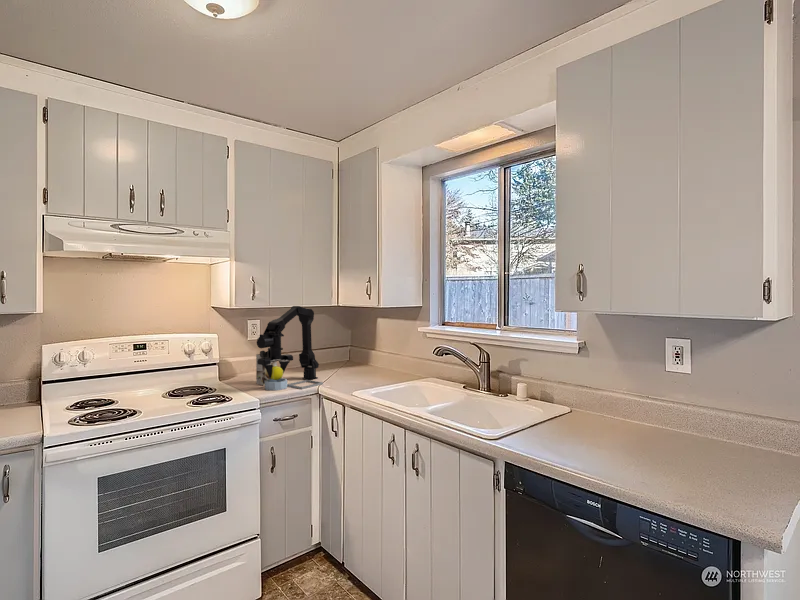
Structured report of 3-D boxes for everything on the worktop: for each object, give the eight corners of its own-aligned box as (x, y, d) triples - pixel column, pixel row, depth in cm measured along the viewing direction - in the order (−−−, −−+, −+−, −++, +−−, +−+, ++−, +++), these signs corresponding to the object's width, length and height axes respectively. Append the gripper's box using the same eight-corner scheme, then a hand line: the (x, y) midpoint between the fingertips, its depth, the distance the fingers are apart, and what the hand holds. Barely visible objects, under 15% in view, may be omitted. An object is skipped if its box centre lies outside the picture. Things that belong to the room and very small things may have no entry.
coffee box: (263, 385, 245) (262, 355, 244) (256, 384, 249) (255, 354, 248) (277, 382, 252) (277, 353, 251) (270, 381, 256) (269, 352, 255)
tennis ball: (267, 379, 239) (266, 366, 238) (280, 377, 243) (280, 364, 242) (272, 381, 233) (271, 368, 233) (285, 380, 237) (284, 366, 237)
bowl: (277, 384, 246) (277, 377, 245) (291, 387, 239) (291, 379, 239) (260, 388, 237) (260, 380, 237) (274, 391, 230) (274, 383, 230)
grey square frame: (306, 381, 254) (306, 379, 254) (323, 384, 246) (323, 382, 246) (285, 386, 242) (285, 384, 242) (301, 389, 234) (301, 387, 234)
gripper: (279, 343, 250) (280, 371, 250) (250, 346, 235) (251, 377, 235) (293, 344, 243) (294, 373, 243) (264, 348, 228) (264, 380, 228)
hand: (276, 376), depth 238 cm, fingers closed on tennis ball, 7 cm apart
